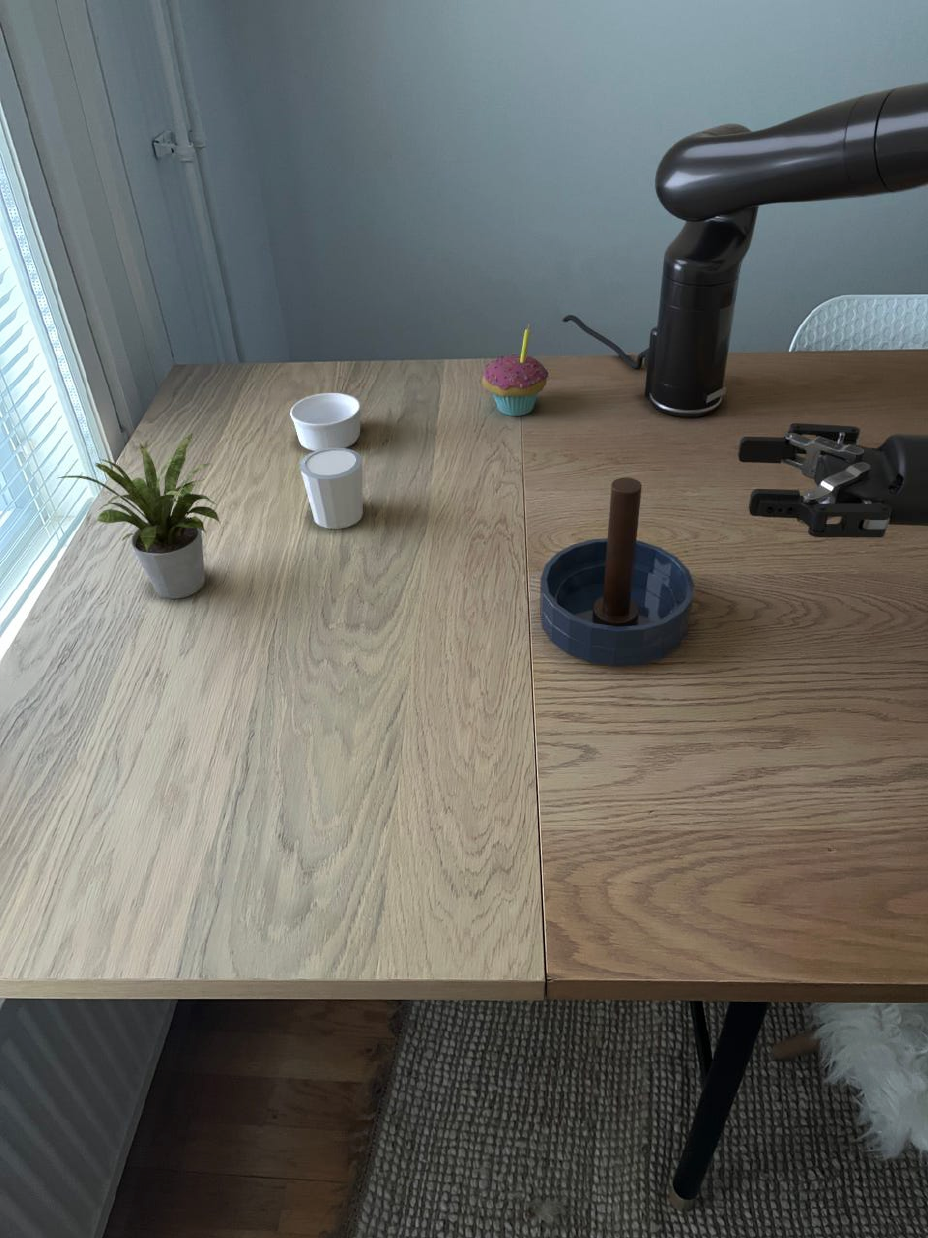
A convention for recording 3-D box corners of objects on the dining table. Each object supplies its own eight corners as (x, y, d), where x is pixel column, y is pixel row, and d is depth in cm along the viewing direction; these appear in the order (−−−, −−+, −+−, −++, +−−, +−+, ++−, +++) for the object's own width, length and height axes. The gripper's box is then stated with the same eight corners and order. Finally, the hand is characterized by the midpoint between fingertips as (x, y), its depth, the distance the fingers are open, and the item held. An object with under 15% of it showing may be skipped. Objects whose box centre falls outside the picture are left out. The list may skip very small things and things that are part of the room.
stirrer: (582, 616, 92) (590, 483, 83) (614, 597, 94) (625, 466, 85) (615, 638, 90) (627, 504, 80) (647, 618, 92) (662, 485, 82)
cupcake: (555, 399, 129) (558, 313, 121) (532, 428, 123) (533, 339, 115) (497, 389, 132) (496, 304, 124) (472, 417, 126) (469, 329, 118)
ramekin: (282, 449, 121) (277, 418, 118) (316, 417, 127) (311, 387, 124) (344, 460, 118) (340, 429, 115) (375, 427, 124) (372, 397, 122)
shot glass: (377, 503, 110) (371, 450, 106) (353, 536, 105) (346, 482, 101) (324, 495, 112) (316, 442, 108) (297, 526, 107) (288, 473, 103)
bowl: (510, 617, 94) (510, 577, 90) (612, 560, 100) (615, 521, 97) (614, 693, 85) (618, 652, 82) (718, 626, 91) (725, 585, 88)
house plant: (107, 649, 92) (55, 507, 82) (90, 571, 102) (42, 436, 91) (251, 608, 96) (219, 468, 86) (222, 537, 106) (190, 404, 96)
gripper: (934, 400, 82) (742, 395, 84) (984, 489, 71) (762, 481, 73) (910, 474, 87) (729, 469, 88) (954, 568, 76) (747, 560, 78)
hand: (744, 474), depth 81 cm, fingers open, 8 cm apart
